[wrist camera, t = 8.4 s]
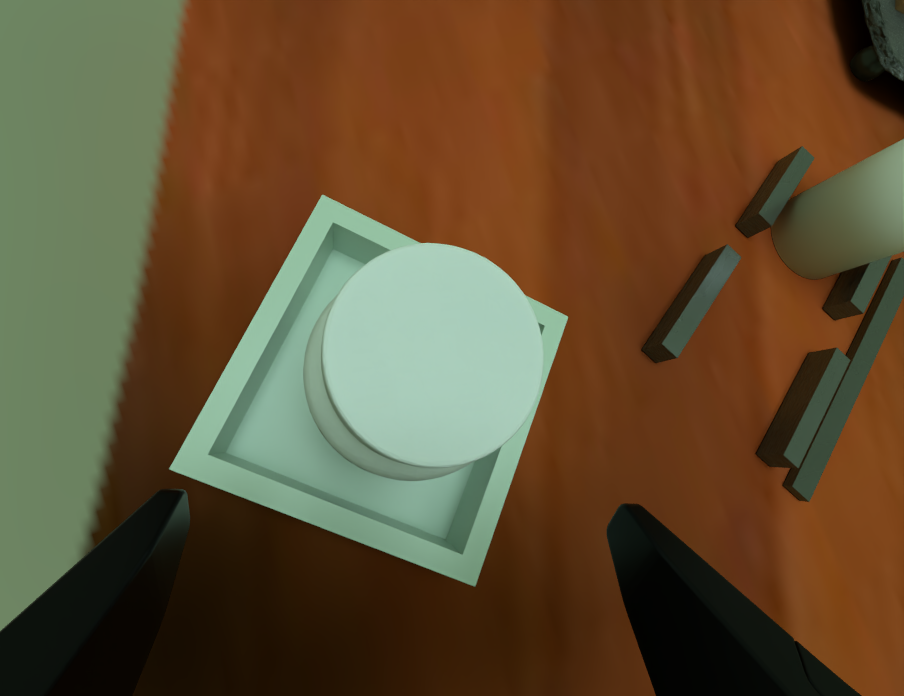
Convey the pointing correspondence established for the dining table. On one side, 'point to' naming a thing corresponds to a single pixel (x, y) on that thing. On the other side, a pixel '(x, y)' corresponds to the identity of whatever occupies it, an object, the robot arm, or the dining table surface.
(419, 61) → the dining table surface
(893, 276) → the set of grey bars
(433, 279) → the pill bottle
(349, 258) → the tray
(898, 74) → the serving board
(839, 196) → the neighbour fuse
